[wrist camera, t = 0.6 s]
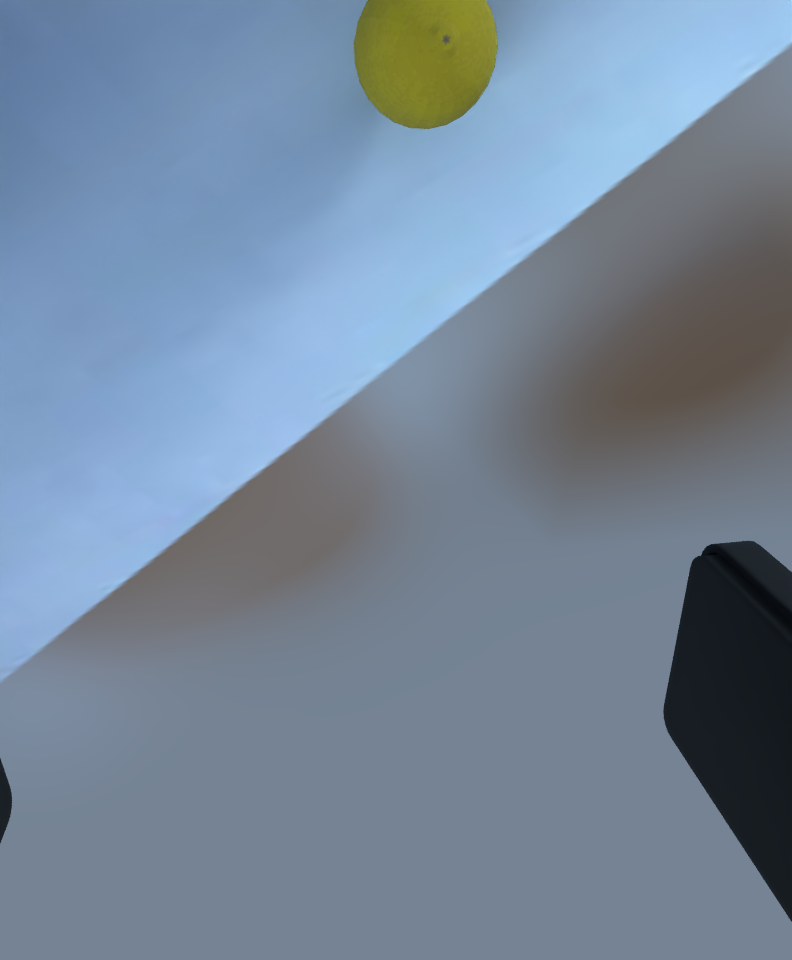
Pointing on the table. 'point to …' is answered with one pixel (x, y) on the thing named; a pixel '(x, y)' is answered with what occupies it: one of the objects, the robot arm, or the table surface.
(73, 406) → the table surface
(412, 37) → the lemon
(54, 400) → the table surface
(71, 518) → the table surface
